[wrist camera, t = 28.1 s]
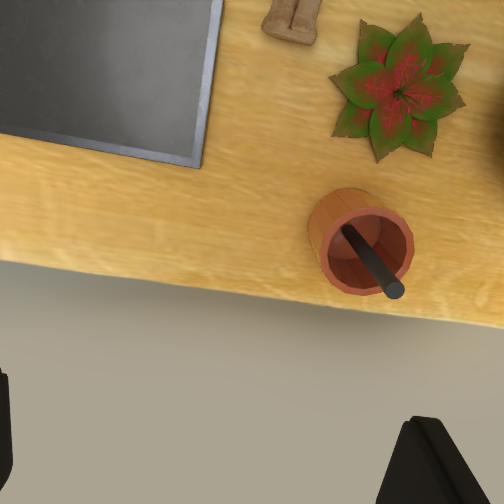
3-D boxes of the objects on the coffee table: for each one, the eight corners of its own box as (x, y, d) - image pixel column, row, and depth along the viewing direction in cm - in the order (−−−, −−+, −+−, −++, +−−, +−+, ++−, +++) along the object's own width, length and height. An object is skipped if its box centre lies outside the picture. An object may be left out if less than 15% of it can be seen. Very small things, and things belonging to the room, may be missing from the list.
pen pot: (395, 196, 37) (427, 216, 31) (373, 268, 40) (398, 302, 33) (317, 181, 37) (333, 199, 30) (300, 256, 39) (310, 287, 33)
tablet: (226, -15, 32) (225, -19, 31) (200, 167, 36) (199, 169, 35) (-46, -74, 30) (-56, -80, 29) (-36, 124, 35) (-44, 125, 34)
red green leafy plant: (307, 150, 36) (316, 157, 32) (345, -6, 32) (360, -23, 28) (438, 177, 37) (464, 187, 33) (491, 28, 33) (528, 18, 29)
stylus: (355, 224, 38) (407, 283, 26) (352, 236, 38) (401, 301, 26) (342, 222, 38) (388, 280, 26) (339, 234, 38) (383, 297, 26)
